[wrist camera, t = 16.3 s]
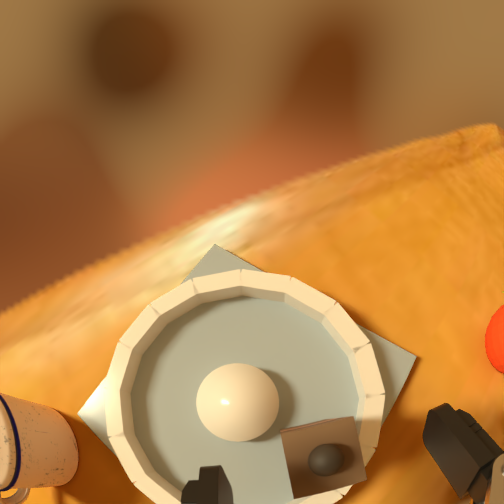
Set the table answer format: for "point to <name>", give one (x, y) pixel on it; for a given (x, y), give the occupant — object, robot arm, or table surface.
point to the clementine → (496, 340)
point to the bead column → (323, 456)
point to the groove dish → (239, 382)
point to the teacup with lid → (33, 448)
